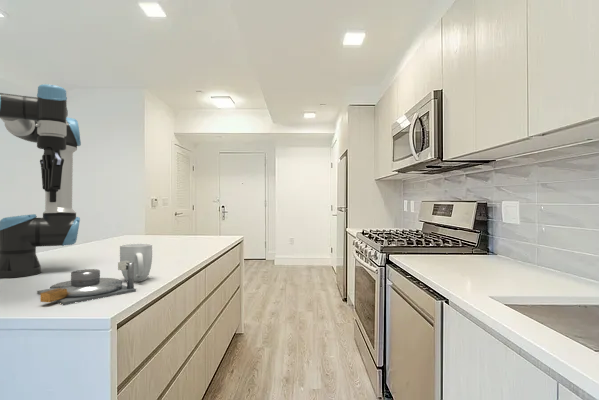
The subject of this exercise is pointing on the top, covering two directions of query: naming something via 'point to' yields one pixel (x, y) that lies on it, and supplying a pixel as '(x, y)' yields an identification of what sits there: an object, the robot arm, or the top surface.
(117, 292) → the base plate
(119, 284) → the turntable
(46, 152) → the robot arm
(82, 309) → the top surface
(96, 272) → the dark grey bowl
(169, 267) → the top surface
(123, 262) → the post
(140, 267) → the mug
